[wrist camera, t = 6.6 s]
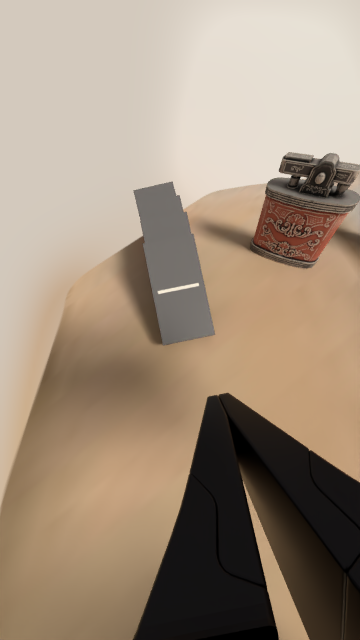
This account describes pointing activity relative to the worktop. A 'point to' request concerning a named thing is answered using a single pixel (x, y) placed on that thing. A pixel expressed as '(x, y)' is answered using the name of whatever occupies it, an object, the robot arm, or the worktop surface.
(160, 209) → the domino
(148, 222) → the domino
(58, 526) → the worktop surface
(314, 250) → the lighter
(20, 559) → the worktop surface
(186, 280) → the domino
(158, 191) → the domino
